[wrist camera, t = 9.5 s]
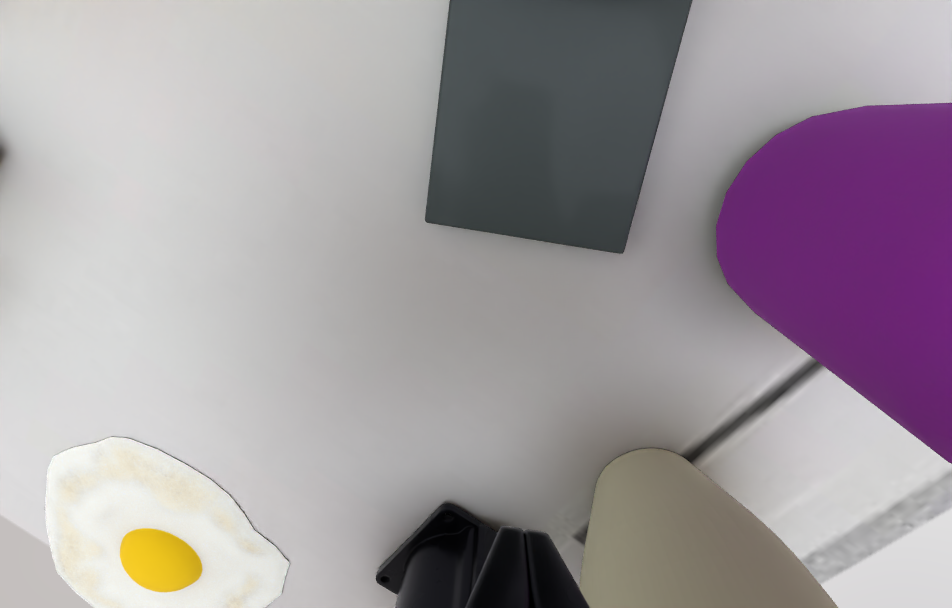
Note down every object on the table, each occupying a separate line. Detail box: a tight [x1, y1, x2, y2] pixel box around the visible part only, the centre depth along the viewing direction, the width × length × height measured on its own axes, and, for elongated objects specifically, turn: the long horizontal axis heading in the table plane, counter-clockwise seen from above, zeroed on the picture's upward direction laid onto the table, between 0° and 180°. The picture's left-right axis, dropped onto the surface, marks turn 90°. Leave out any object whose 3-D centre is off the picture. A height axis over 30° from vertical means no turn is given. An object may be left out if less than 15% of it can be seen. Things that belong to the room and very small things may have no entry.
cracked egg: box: [45, 437, 290, 608], centre depth 25 cm, size 14×13×1 cm
